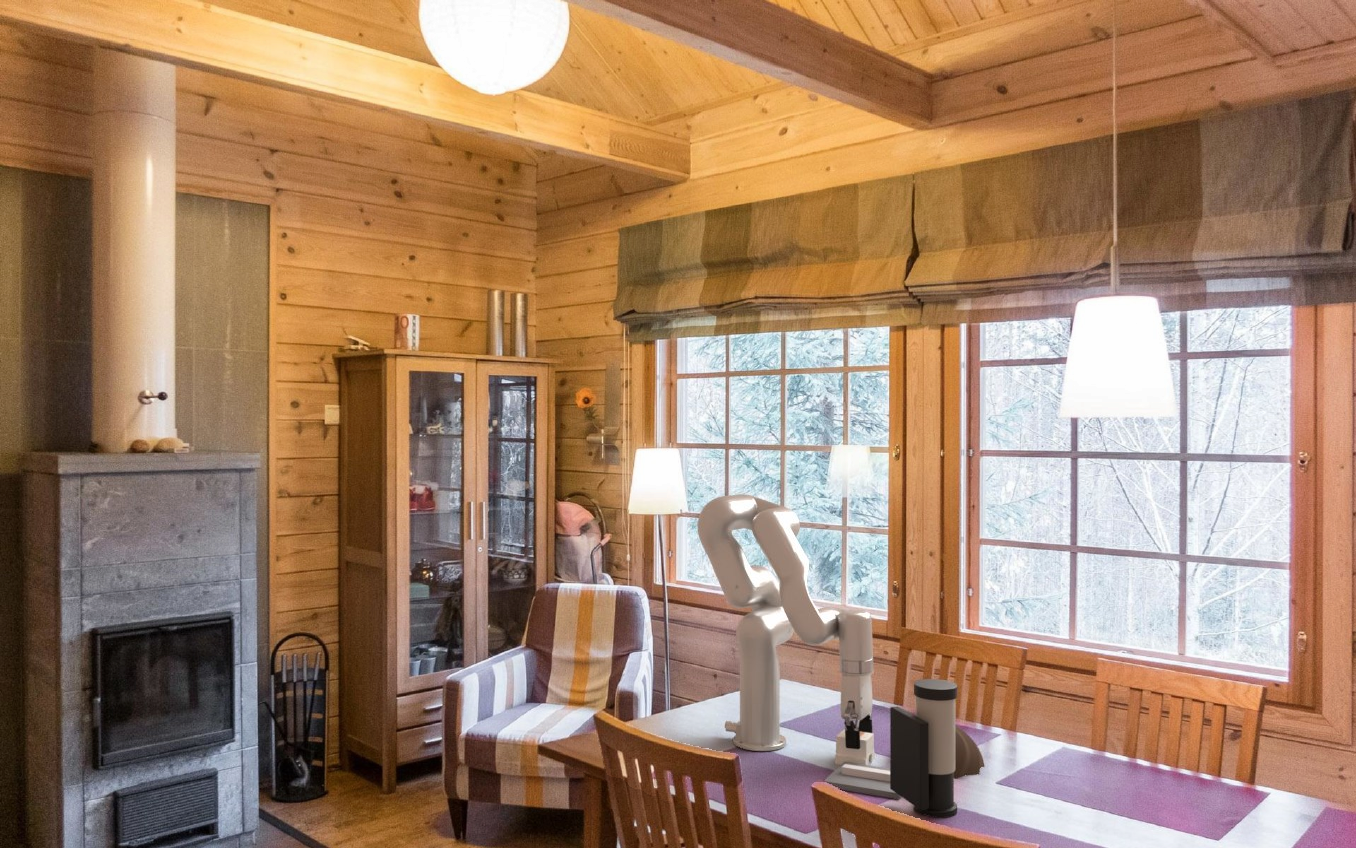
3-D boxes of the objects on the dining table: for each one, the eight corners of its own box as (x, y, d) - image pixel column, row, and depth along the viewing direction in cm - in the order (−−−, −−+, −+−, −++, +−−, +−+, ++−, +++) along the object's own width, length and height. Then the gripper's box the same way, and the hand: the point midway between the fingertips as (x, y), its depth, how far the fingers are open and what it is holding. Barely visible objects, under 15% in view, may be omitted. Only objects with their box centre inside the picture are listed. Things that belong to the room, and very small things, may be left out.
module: (835, 763, 227) (835, 736, 227) (844, 754, 233) (844, 727, 233) (865, 768, 224) (865, 740, 224) (874, 759, 230) (874, 732, 230)
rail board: (823, 786, 212) (824, 773, 212) (844, 767, 224) (844, 754, 224) (899, 799, 205) (899, 786, 205) (916, 778, 217) (916, 765, 217)
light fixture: (971, 818, 195) (971, 690, 195) (920, 824, 192) (920, 694, 192) (938, 797, 206) (938, 675, 206) (889, 802, 203) (889, 679, 203)
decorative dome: (988, 782, 215) (988, 735, 215) (893, 775, 220) (893, 729, 220) (981, 754, 234) (981, 711, 234) (894, 748, 239) (894, 705, 239)
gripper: (851, 657, 238) (854, 731, 237) (828, 673, 222) (831, 751, 222) (883, 659, 234) (885, 734, 234) (861, 675, 219) (864, 755, 218)
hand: (859, 742), depth 228 cm, fingers open, 9 cm apart
